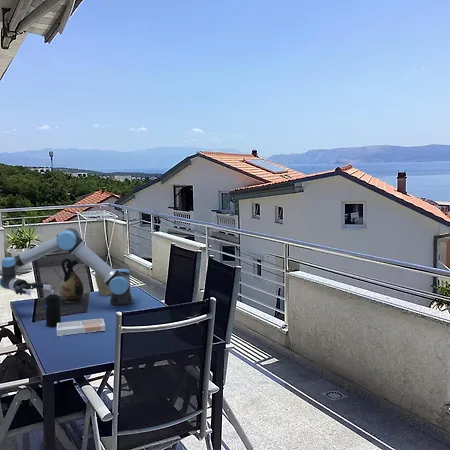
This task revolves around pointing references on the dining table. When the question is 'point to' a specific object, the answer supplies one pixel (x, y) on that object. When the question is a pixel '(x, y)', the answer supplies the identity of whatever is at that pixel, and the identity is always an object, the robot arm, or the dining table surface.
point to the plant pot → (102, 286)
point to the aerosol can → (52, 310)
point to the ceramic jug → (70, 283)
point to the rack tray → (80, 327)
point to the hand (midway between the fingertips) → (40, 290)
